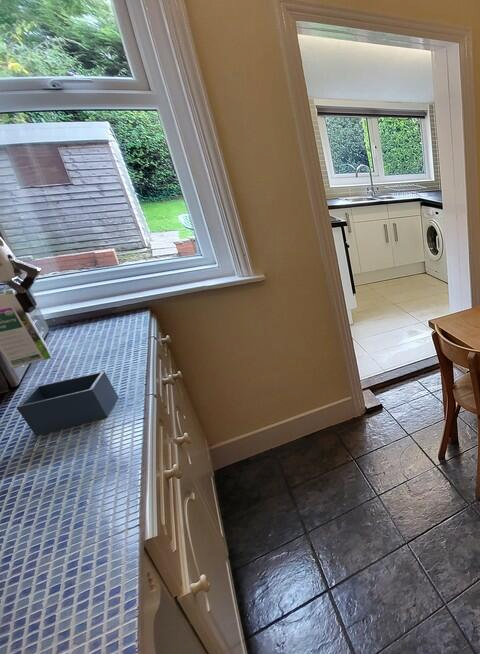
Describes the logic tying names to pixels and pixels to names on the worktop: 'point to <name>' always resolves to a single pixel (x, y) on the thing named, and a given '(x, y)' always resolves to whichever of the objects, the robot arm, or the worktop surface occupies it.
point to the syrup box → (19, 333)
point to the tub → (68, 403)
